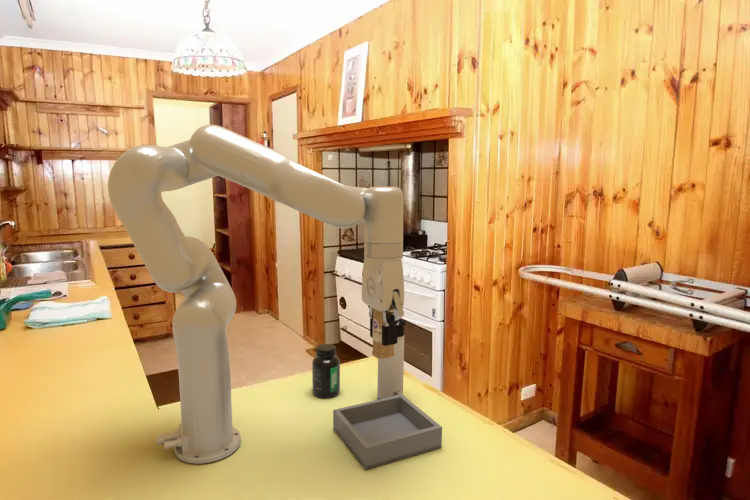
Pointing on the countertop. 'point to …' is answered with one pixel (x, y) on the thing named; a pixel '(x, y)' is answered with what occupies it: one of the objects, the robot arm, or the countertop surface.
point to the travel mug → (392, 369)
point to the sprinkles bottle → (380, 337)
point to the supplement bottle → (326, 372)
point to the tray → (386, 431)
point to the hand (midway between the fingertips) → (383, 339)
